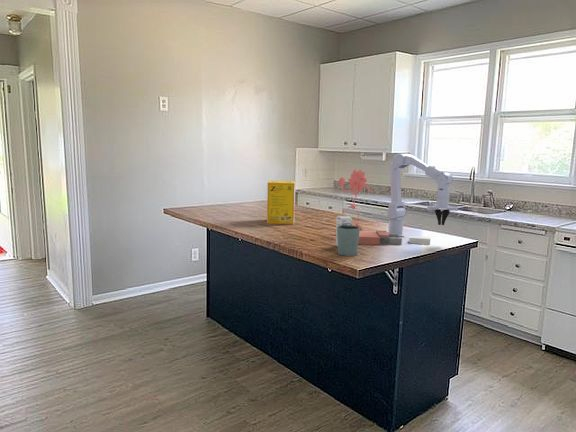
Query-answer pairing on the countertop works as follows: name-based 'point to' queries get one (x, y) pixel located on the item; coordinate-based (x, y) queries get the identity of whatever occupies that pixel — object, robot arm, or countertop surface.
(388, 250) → the countertop surface
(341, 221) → the syrup box
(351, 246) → the green tapered cup
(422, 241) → the chute
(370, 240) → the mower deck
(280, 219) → the packaging box
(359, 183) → the pink flower bunch
